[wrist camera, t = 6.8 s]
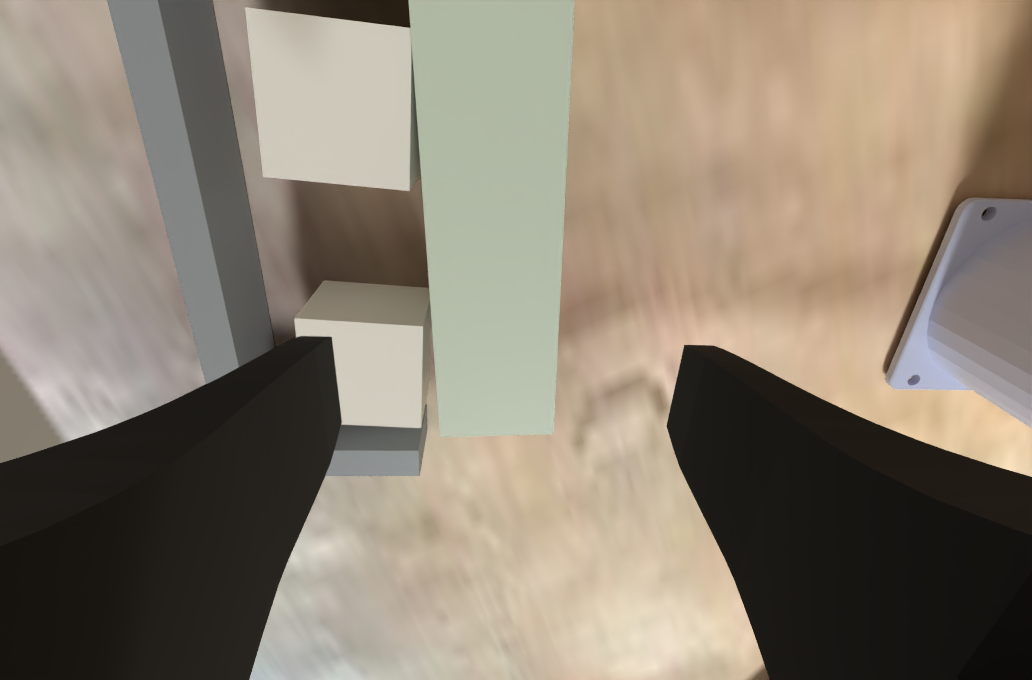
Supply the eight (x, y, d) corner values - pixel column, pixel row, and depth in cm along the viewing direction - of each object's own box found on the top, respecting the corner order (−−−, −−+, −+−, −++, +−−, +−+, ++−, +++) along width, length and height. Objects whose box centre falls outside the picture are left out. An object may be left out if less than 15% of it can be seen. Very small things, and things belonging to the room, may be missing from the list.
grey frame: (408, -65, 15) (392, -96, 12) (427, 428, 23) (419, 475, 20) (152, -83, 14) (76, -120, 12) (260, 427, 22) (229, 475, 19)
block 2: (432, 286, 20) (422, 326, 17) (430, 377, 22) (421, 428, 18) (324, 279, 19) (294, 318, 16) (331, 371, 21) (304, 422, 18)
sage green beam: (556, -23, 16) (577, -51, 12) (542, 376, 22) (553, 434, 18) (423, -25, 16) (404, -55, 12) (447, 378, 22) (439, 437, 18)
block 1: (426, 37, 16) (411, 27, 13) (422, 171, 18) (409, 190, 15) (292, 20, 16) (245, 7, 13) (302, 159, 18) (263, 177, 14)
